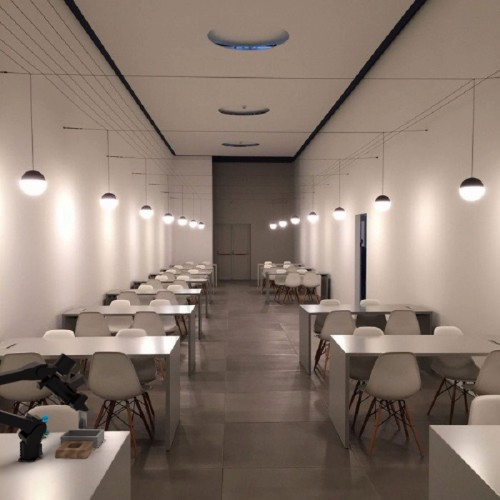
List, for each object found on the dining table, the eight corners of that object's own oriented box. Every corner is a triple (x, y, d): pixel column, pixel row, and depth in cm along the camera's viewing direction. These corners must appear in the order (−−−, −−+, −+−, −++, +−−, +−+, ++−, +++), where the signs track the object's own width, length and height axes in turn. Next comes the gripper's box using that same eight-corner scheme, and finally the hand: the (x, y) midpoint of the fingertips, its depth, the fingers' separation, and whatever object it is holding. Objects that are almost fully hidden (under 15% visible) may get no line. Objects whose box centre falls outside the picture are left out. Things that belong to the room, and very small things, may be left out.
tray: (60, 447, 194) (60, 436, 194) (68, 439, 202) (68, 429, 202) (97, 447, 193) (97, 437, 193) (104, 439, 201) (104, 429, 201)
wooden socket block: (55, 458, 184) (55, 449, 184) (64, 449, 192) (64, 441, 192) (86, 458, 184) (85, 450, 184) (93, 449, 192) (93, 441, 192)
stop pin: (78, 429, 195) (78, 400, 195) (77, 426, 198) (77, 398, 198) (87, 428, 197) (87, 399, 196) (86, 425, 199) (85, 397, 199)
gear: (27, 428, 210) (46, 409, 211) (39, 436, 212) (57, 418, 213) (26, 441, 199) (46, 421, 201) (38, 450, 202) (57, 430, 203)
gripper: (82, 372, 187) (111, 397, 195) (62, 363, 201) (89, 387, 209) (61, 398, 182) (91, 422, 190) (41, 387, 196) (70, 410, 204)
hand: (85, 409), depth 198 cm, fingers closed on stop pin, 3 cm apart
